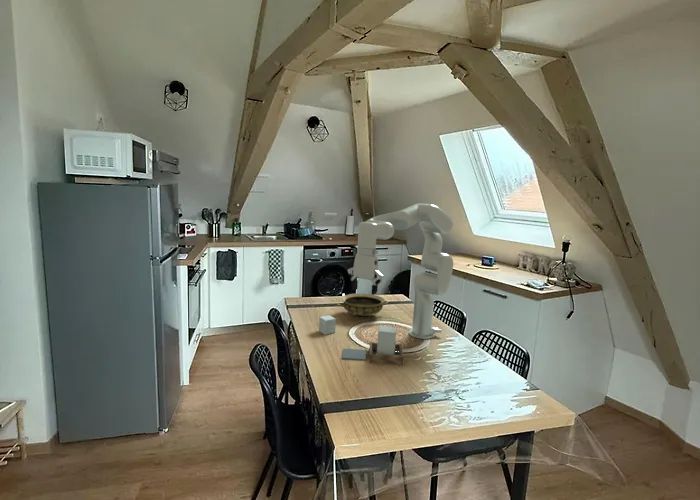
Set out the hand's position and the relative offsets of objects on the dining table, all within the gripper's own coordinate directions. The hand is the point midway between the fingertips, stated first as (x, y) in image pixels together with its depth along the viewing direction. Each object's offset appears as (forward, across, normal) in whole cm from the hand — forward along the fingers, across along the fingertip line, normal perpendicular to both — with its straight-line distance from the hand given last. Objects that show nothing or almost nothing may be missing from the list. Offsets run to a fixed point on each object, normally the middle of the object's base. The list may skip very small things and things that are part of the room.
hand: (364, 291), depth 177 cm
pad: (+28, +2, +2) cm, 28 cm away
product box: (+28, +28, -13) cm, 42 cm away
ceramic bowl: (+28, +28, -46) cm, 61 cm away
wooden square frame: (+28, -9, -5) cm, 30 cm away
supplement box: (+28, -9, -5) cm, 30 cm away
